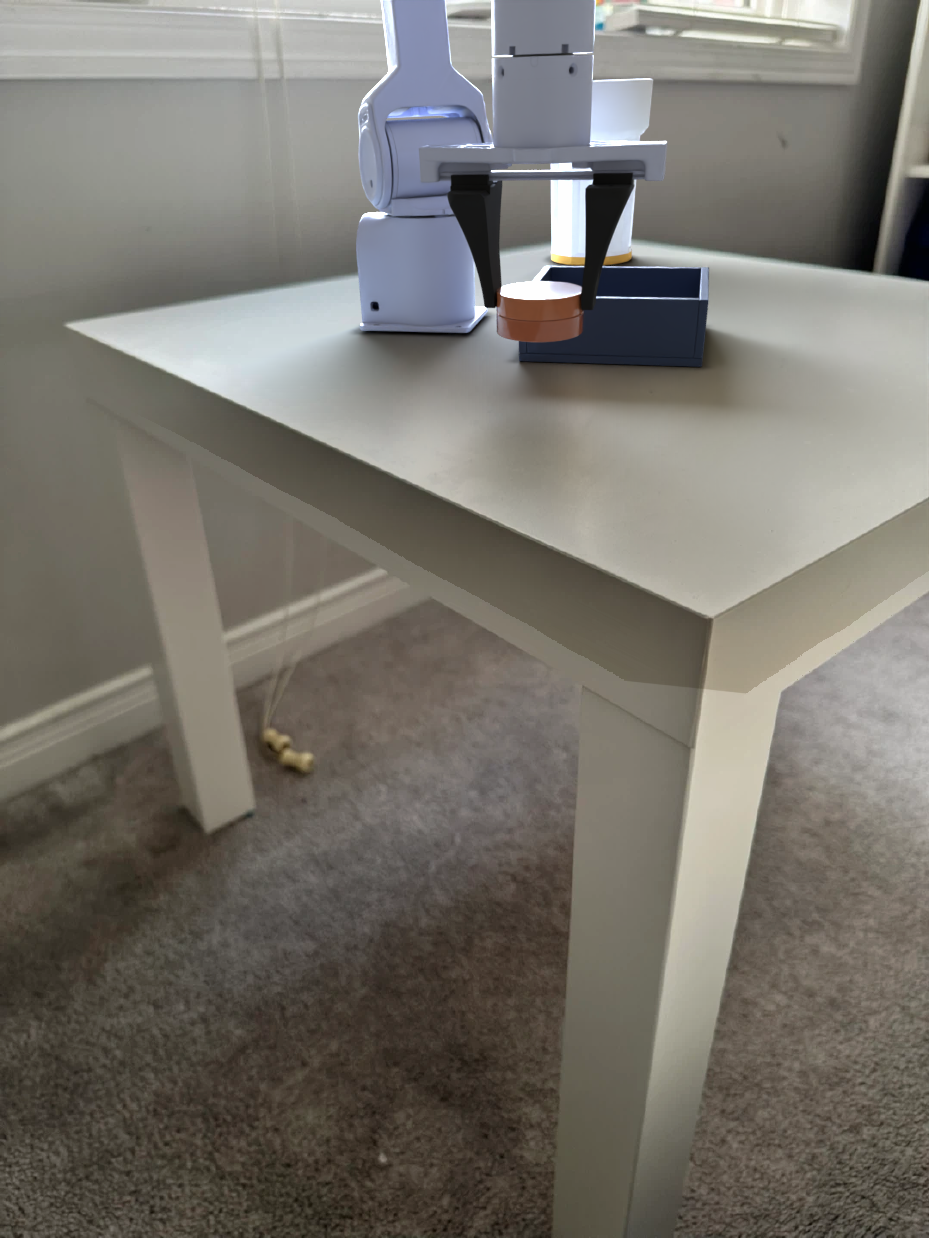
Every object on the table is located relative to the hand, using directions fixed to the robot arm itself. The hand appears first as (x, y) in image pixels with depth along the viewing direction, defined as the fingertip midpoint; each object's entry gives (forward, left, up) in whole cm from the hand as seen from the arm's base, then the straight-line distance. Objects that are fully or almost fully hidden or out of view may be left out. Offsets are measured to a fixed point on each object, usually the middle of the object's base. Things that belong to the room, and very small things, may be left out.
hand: (539, 306), depth 58 cm
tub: (+4, +13, -6) cm, 15 cm away
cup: (-2, +50, -6) cm, 50 cm away
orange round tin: (0, 0, -2) cm, 2 cm away
